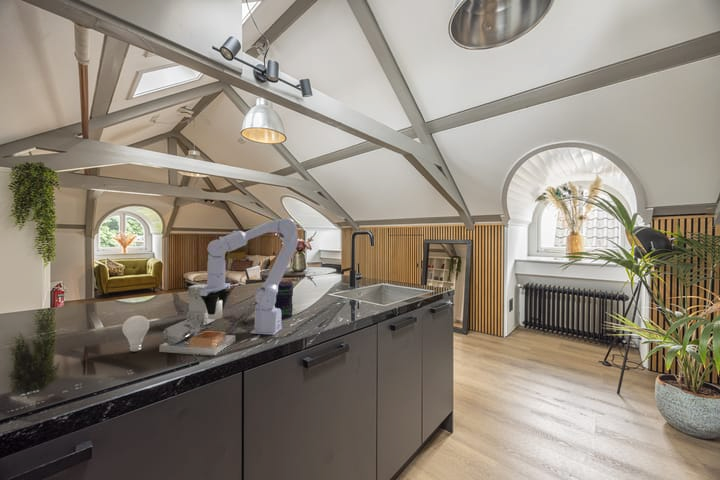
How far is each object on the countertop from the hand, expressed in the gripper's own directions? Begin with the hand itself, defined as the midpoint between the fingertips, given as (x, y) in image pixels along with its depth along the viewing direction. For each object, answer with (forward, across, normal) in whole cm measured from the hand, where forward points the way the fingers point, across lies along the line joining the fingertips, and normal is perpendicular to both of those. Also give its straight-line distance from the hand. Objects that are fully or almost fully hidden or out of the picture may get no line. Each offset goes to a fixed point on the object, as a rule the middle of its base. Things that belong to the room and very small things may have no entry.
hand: (215, 312), depth 103 cm
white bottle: (+2, 0, 0) cm, 2 cm away
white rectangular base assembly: (+9, +8, 0) cm, 12 cm away
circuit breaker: (+9, -19, -16) cm, 27 cm away
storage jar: (+9, -30, +12) cm, 33 cm away
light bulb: (+9, +16, -16) cm, 24 cm away
